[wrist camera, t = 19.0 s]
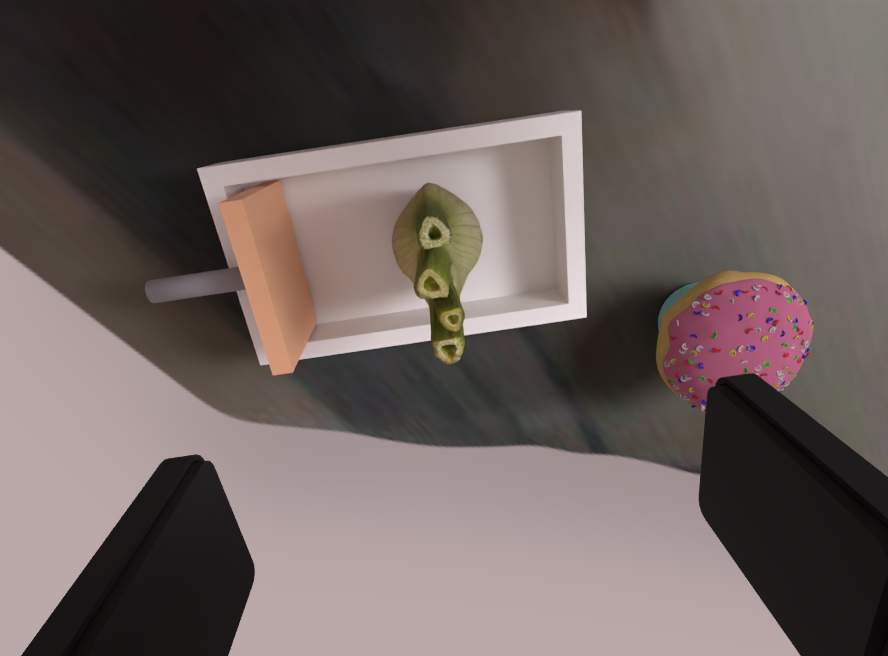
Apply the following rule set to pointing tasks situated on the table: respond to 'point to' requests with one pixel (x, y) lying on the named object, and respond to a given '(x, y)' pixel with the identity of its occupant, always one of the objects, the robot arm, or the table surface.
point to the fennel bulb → (439, 260)
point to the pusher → (258, 274)
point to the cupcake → (731, 333)
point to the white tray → (382, 201)
